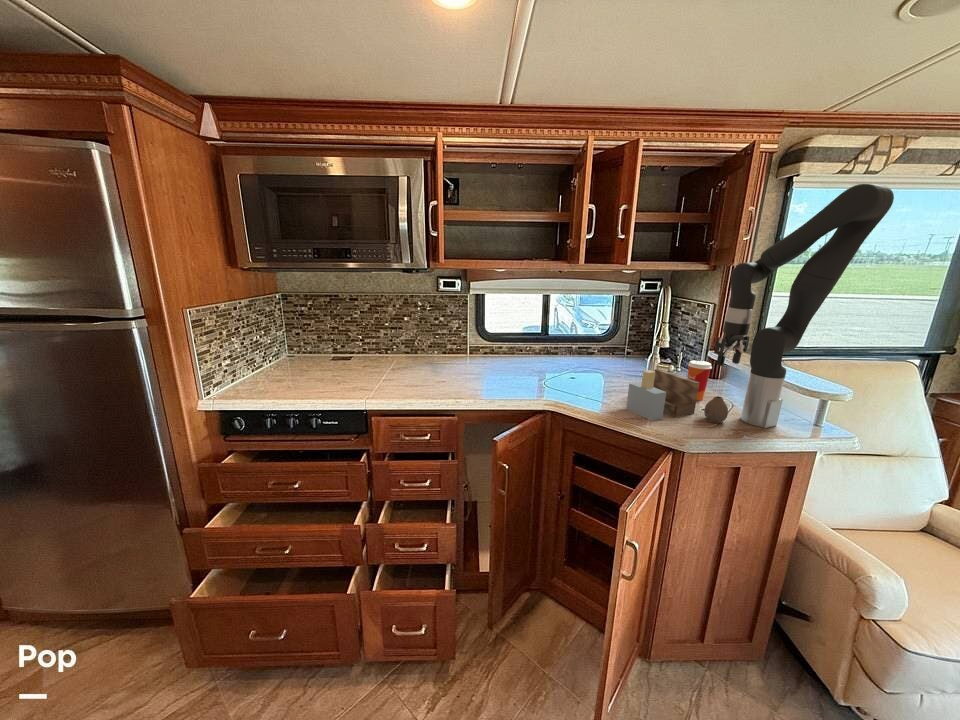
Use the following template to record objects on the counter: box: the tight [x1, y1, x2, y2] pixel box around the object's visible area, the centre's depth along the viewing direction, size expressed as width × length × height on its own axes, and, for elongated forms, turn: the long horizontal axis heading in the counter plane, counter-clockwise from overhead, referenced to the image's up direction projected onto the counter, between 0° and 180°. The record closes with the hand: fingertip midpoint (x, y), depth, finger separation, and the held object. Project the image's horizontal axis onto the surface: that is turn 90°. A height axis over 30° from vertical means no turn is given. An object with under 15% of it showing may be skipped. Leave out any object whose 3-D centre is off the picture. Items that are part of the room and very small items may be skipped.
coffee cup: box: [687, 360, 713, 402], centre depth 145 cm, size 8×8×15 cm
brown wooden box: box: [653, 368, 700, 418], centre depth 137 cm, size 18×10×12 cm, turn 22°
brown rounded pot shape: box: [703, 395, 729, 424], centre depth 125 cm, size 7×7×9 cm
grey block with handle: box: [625, 369, 666, 422], centre depth 130 cm, size 12×5×16 cm, turn 22°
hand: (727, 364), depth 133 cm, fingers open, 8 cm apart
